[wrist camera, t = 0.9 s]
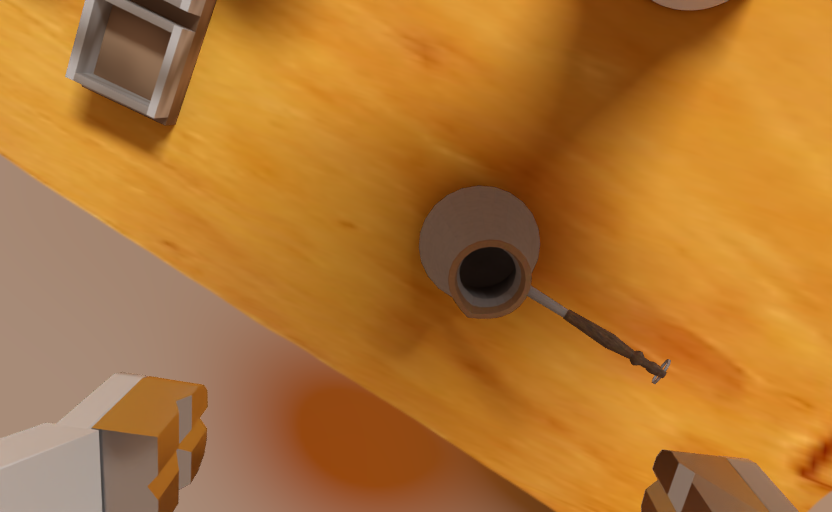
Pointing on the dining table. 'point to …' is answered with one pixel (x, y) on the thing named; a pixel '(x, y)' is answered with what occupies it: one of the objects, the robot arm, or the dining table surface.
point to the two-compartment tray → (140, 52)
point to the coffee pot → (497, 261)
